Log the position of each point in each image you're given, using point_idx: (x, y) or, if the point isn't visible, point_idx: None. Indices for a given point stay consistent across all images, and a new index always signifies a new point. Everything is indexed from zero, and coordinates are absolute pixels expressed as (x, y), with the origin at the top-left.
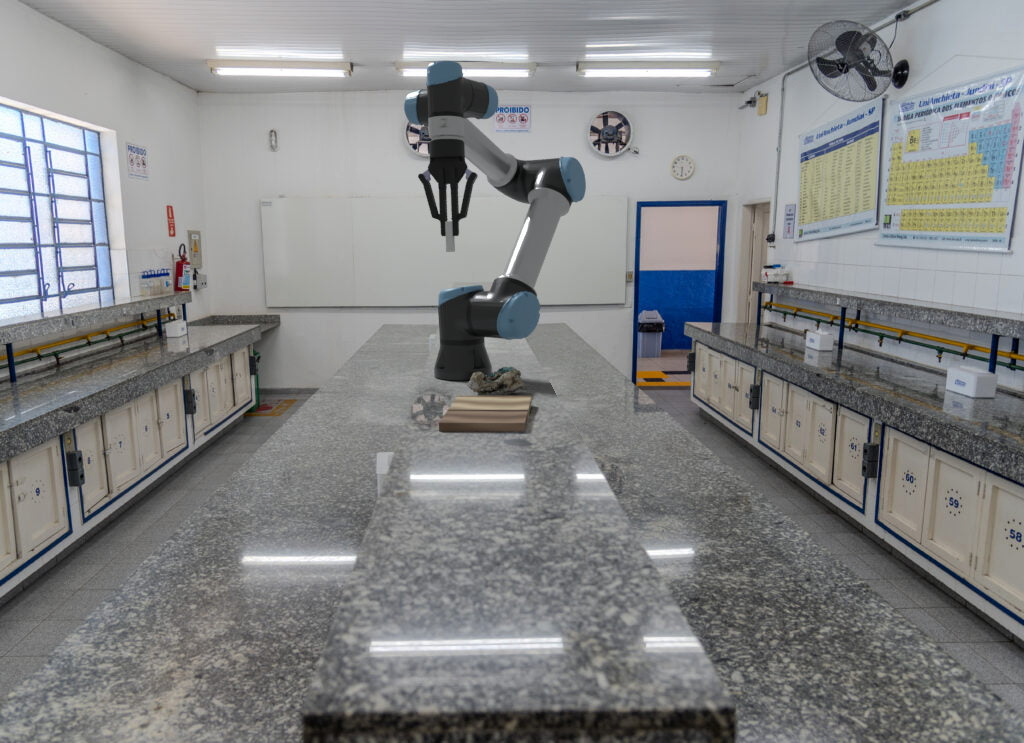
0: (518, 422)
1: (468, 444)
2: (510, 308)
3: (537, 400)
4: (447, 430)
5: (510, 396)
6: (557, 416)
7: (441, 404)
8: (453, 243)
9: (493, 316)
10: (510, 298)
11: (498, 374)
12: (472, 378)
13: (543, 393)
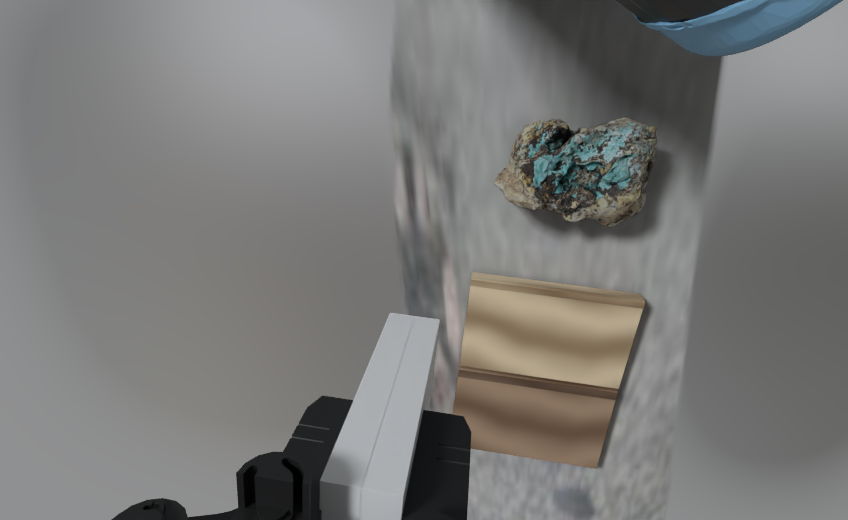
0: (586, 464)
1: (499, 499)
2: (727, 47)
3: (663, 243)
4: None
5: (595, 302)
6: (674, 379)
7: (437, 254)
8: (427, 402)
9: (630, 4)
10: (761, 3)
11: (583, 201)
12: (509, 201)
13: (697, 167)
